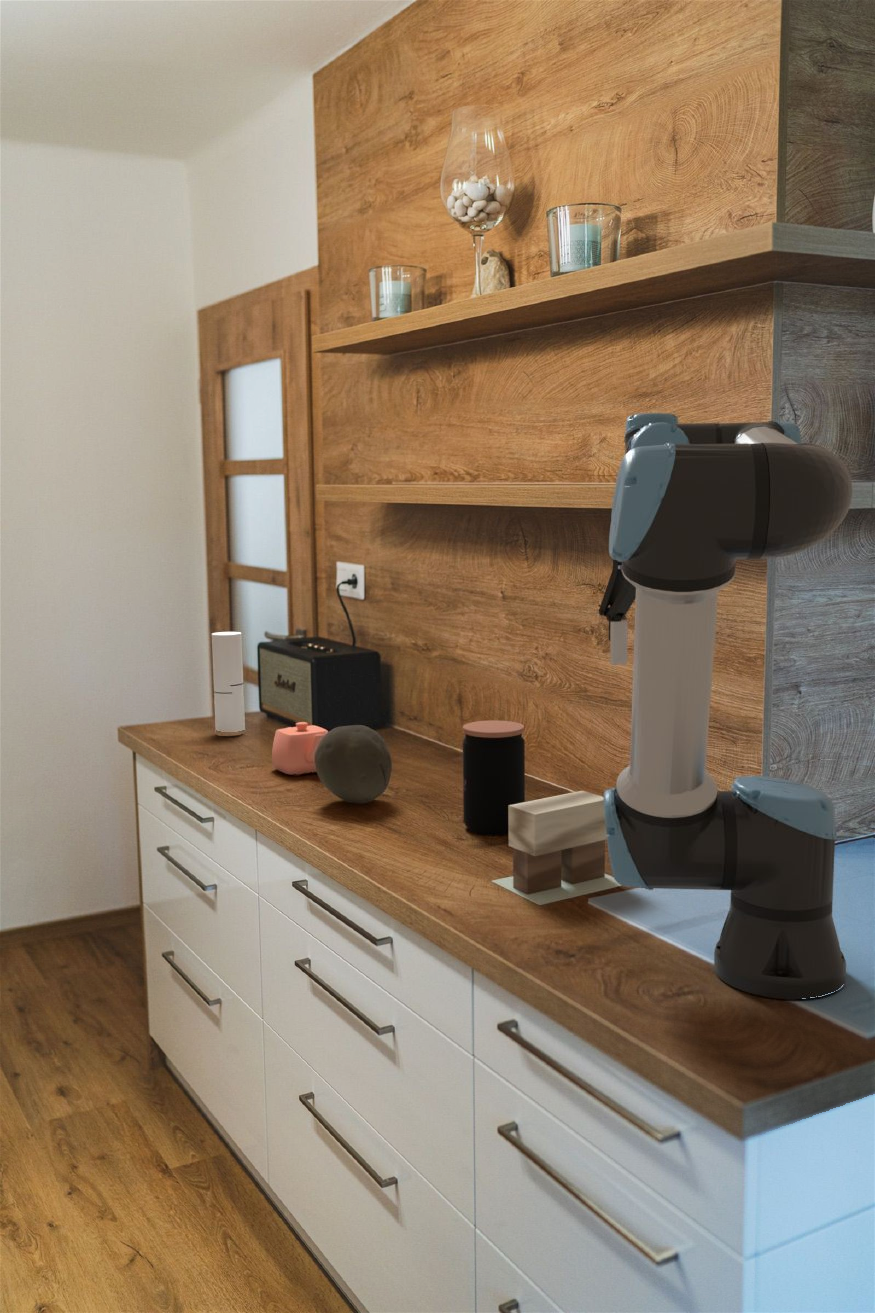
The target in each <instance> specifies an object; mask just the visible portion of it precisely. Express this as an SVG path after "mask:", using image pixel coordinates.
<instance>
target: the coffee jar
mask: <svg viewBox="0 0 875 1313" xmlns="http://www.w3.org/2000/svg"><path fill="white" fill-rule="evenodd" d="M462 732H463V734H465V736H464V738H463V740H462V802H463V803H462V805H463V807H462V808H463V811H462V814H463V816H462V817H463V818H462V819H463V823H464V825H465V827H466V828H467V830H468V831H470V832H472V833H474V834H477V835H483V836H484V835H485V836H505V835H509V824H508V805H513V804H518V803H523V802H526V799H525V798H526V795H525V794H526V790H525V789H526V787H525V785H526V784H525V783H526V782H525V780H526V775H525V773H526V772H525V770H526V767H525V764H526V763H525V762H526V761H525V758H526V756H525V754H526V753H525V752H526V750H525V749H526V748H525V747H526V744H525V743H526V742H525V739H524V738H523V737H522V734H524V732H525V726H524V724H522V723H520V722H516V721H511V720H510V721H509V720H497V719H496V720H492V719H491V720H480V721H479V720H477V721H473V722H468V723H465V724H463V726H462Z"/></svg>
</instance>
